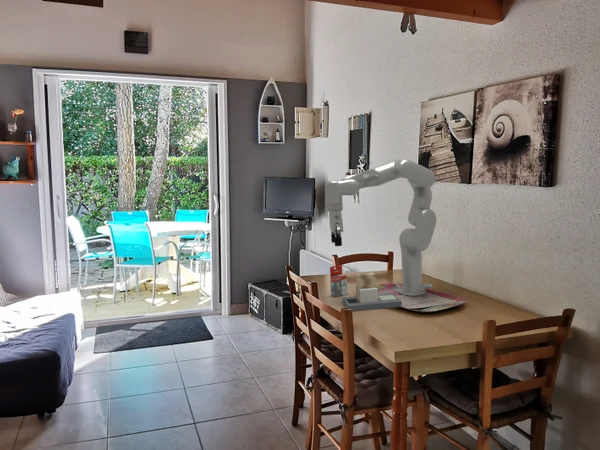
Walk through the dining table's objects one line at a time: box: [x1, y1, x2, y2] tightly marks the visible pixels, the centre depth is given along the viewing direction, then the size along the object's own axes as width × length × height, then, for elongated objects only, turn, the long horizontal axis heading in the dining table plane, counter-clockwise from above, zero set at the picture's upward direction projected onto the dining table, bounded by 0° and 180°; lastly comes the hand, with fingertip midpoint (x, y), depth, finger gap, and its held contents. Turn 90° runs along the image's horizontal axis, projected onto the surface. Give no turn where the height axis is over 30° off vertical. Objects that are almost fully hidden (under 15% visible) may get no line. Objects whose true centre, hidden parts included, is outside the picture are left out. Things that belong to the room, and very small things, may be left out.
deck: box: [341, 292, 403, 312], centre depth 219 cm, size 24×14×3 cm, turn 96°
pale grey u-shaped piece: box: [355, 284, 379, 303], centre depth 218 cm, size 8×9×6 cm
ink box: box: [329, 264, 349, 298], centre depth 236 cm, size 4×8×15 cm, turn 123°
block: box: [355, 271, 377, 302], centre depth 217 cm, size 8×4×12 cm, turn 96°
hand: (336, 244), depth 221 cm, fingers open, 9 cm apart
